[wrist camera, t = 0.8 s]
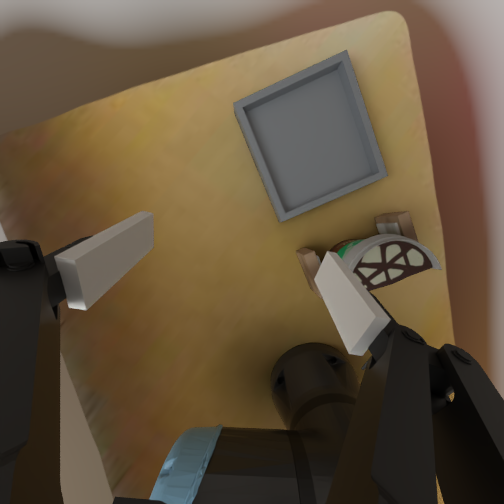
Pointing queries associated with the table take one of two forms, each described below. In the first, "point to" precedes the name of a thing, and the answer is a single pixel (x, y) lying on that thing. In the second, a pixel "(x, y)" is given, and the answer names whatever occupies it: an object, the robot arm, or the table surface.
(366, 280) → the food container
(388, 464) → the robot arm
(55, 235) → the table surface
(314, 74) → the tray
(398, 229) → the brown rectangular blocks
